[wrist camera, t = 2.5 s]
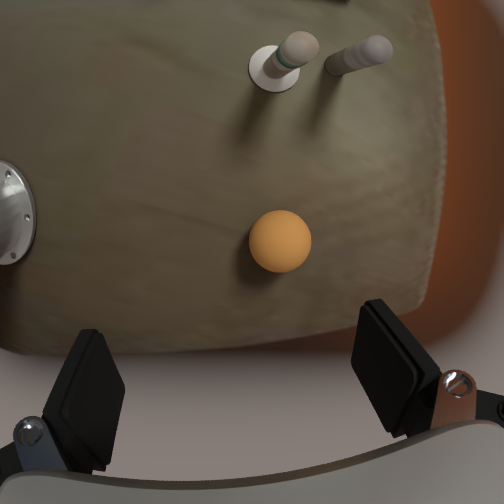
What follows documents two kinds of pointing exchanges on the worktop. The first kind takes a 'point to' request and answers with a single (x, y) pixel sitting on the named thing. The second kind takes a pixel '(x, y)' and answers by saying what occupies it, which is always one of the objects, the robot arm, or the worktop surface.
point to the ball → (280, 241)
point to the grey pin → (360, 56)
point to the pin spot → (265, 81)
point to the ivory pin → (291, 55)
